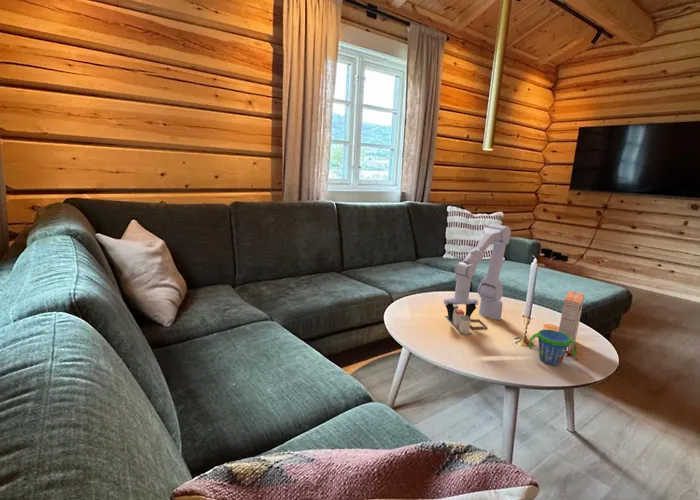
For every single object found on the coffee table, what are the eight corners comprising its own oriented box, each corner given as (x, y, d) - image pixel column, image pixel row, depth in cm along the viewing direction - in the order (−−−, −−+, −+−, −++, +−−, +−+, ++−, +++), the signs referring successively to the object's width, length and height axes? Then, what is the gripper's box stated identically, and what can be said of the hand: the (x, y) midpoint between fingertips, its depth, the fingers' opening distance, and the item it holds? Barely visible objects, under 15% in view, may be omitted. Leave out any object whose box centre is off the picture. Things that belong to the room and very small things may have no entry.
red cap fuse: (459, 323, 166) (461, 309, 165) (462, 326, 164) (464, 312, 162) (453, 323, 166) (455, 309, 165) (455, 326, 163) (457, 312, 162)
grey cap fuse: (454, 317, 173) (455, 303, 171) (456, 320, 170) (458, 306, 168) (447, 317, 172) (449, 303, 171) (450, 320, 169) (452, 306, 168)
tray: (478, 323, 170) (479, 319, 170) (486, 331, 163) (487, 327, 162) (463, 323, 170) (464, 319, 169) (471, 331, 162) (471, 327, 161)
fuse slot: (465, 329, 160) (467, 315, 159) (469, 333, 157) (471, 318, 156) (459, 329, 160) (461, 315, 158) (462, 333, 157) (464, 318, 155)
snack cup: (527, 362, 139) (531, 336, 136) (526, 349, 148) (530, 325, 146) (575, 373, 133) (581, 346, 131) (571, 359, 143) (576, 334, 140)
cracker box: (559, 336, 162) (568, 290, 157) (575, 341, 158) (585, 293, 153) (553, 348, 150) (563, 299, 146) (571, 353, 147) (581, 303, 142)
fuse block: (454, 318, 175) (455, 313, 174) (472, 337, 156) (473, 331, 156) (444, 318, 174) (444, 313, 173) (460, 337, 156) (461, 332, 155)
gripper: (474, 287, 166) (470, 316, 169) (442, 286, 164) (439, 316, 167) (481, 292, 159) (477, 322, 162) (449, 292, 157) (445, 323, 160)
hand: (458, 319), depth 164 cm, fingers open, 7 cm apart
